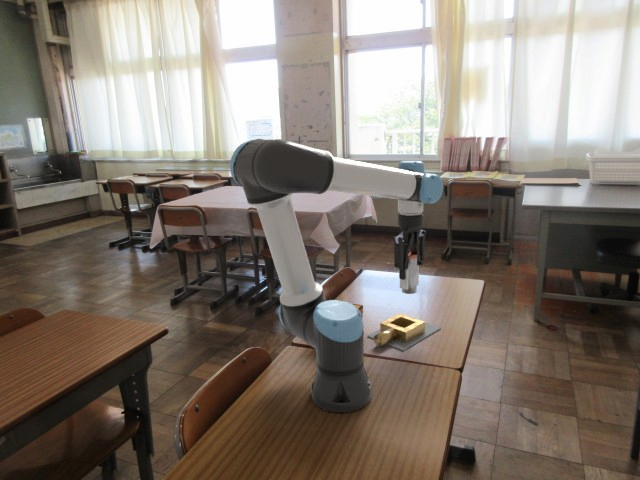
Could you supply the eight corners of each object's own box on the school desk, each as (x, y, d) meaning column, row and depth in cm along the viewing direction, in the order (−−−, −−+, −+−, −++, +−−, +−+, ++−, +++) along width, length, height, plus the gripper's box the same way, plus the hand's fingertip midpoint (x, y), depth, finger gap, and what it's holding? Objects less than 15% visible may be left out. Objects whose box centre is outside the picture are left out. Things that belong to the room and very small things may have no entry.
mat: (403, 351, 131) (403, 350, 131) (367, 336, 141) (367, 335, 141) (440, 328, 144) (440, 327, 144) (405, 316, 154) (405, 315, 154)
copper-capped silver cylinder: (410, 295, 136) (411, 257, 133) (398, 291, 139) (398, 254, 136) (419, 291, 139) (420, 254, 136) (407, 287, 142) (408, 251, 139)
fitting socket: (391, 351, 131) (391, 340, 130) (365, 340, 138) (365, 330, 137) (424, 332, 142) (425, 321, 141) (399, 323, 149) (399, 313, 148)
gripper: (402, 218, 125) (401, 296, 130) (438, 210, 136) (435, 282, 141) (381, 215, 130) (381, 290, 136) (417, 207, 141) (416, 277, 147)
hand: (409, 286), depth 138 cm, fingers closed on copper-capped silver cylinder, 5 cm apart
